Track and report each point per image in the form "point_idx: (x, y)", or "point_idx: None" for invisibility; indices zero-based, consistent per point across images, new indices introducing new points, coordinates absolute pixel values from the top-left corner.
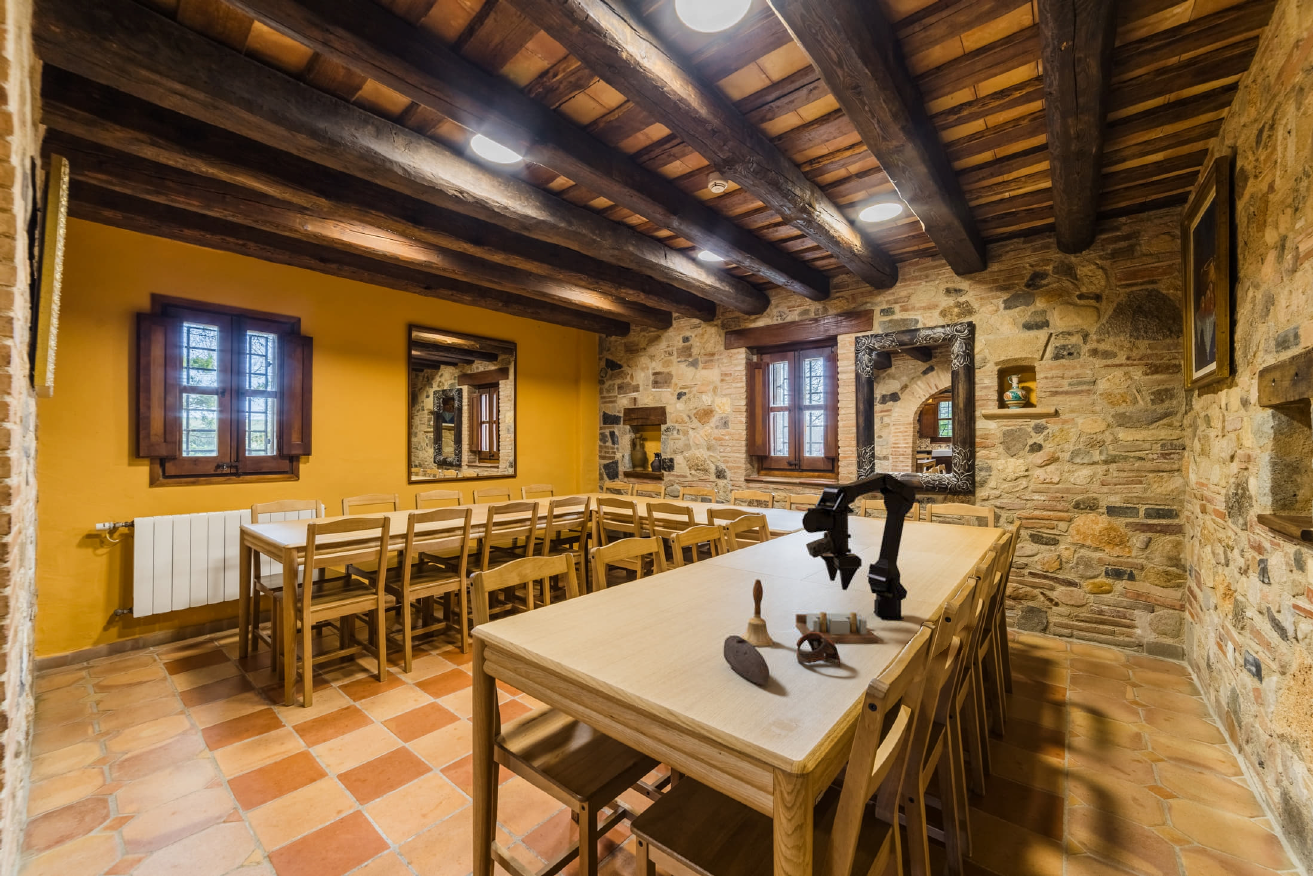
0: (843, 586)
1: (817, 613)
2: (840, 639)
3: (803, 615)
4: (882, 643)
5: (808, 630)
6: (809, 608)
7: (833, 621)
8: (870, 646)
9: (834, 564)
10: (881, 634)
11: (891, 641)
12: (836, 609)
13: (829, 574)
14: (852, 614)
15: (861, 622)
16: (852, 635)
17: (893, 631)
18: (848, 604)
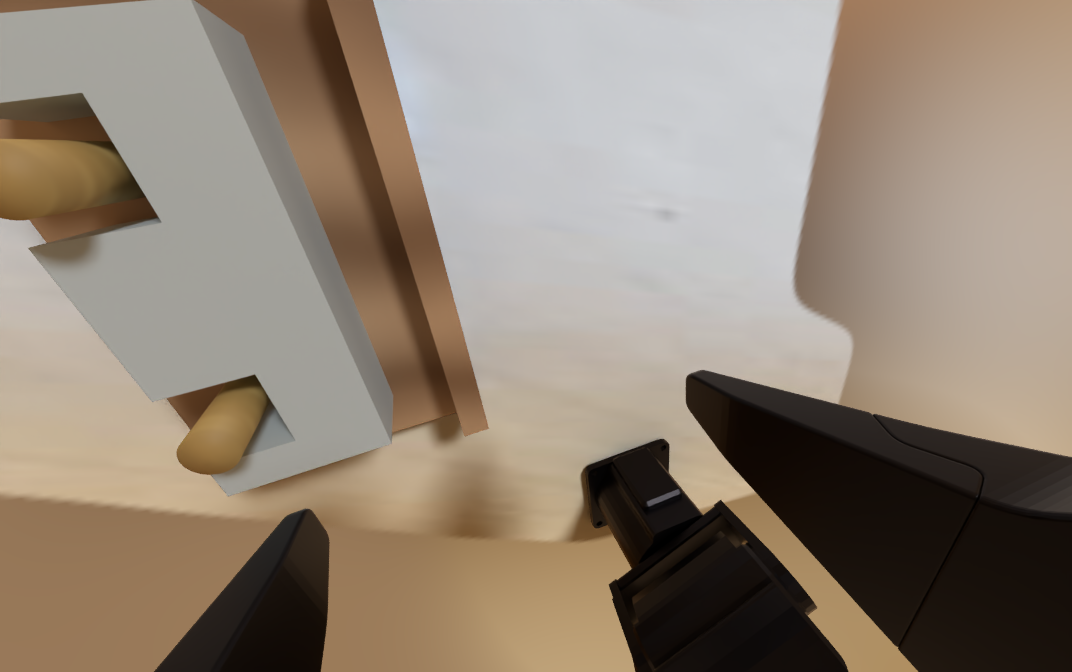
0: (254, 567)
1: (248, 139)
2: None
3: (328, 1)
4: None
5: None
6: (743, 158)
7: (54, 274)
8: (157, 432)
9: (895, 576)
10: (394, 468)
11: (304, 504)
12: (717, 300)
13: (749, 403)
14: (178, 447)
15: None
16: None
17: (452, 502)
18: (771, 352)
